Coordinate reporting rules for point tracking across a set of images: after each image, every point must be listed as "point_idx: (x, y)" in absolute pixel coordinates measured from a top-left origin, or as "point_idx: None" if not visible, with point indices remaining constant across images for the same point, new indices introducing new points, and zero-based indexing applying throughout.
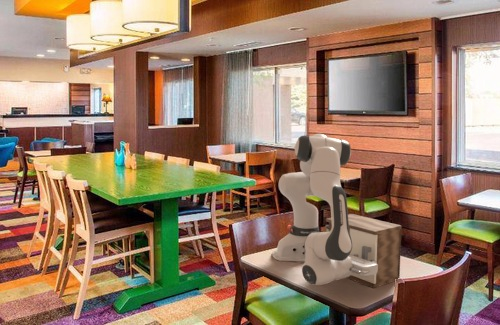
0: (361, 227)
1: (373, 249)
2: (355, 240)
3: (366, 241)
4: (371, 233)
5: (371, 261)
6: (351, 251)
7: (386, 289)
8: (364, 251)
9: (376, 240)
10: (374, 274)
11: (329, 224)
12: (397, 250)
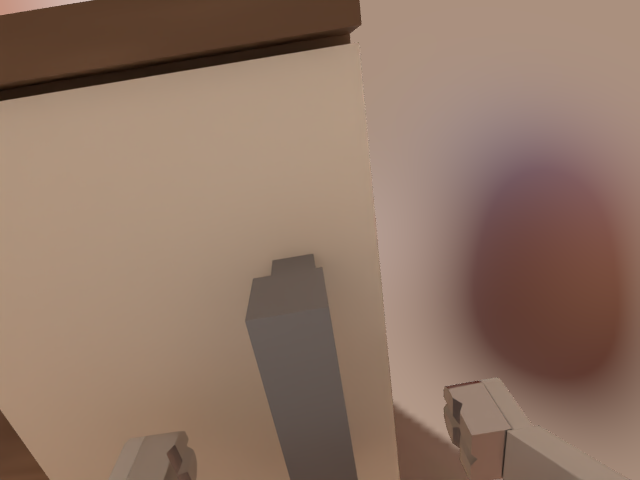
0: (27, 18)
1: (349, 263)
2: (25, 271)
3: (212, 209)
4: (284, 30)
5: (488, 442)
6: (38, 409)
7: (464, 475)
8: (325, 372)
9: (364, 130)
10: (397, 467)
11: None
12: None
